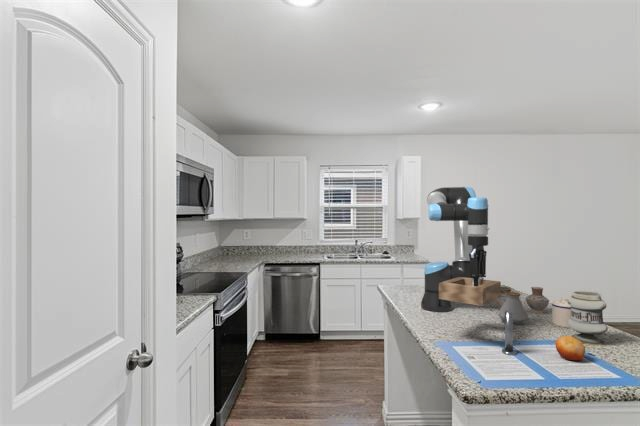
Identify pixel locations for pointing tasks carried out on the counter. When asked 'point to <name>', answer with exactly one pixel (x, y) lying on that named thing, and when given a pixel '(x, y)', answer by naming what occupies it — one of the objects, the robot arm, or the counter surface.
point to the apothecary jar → (587, 316)
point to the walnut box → (470, 291)
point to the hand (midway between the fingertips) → (478, 293)
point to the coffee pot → (513, 308)
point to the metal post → (509, 334)
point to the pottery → (528, 299)
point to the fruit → (570, 348)
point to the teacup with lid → (561, 312)
